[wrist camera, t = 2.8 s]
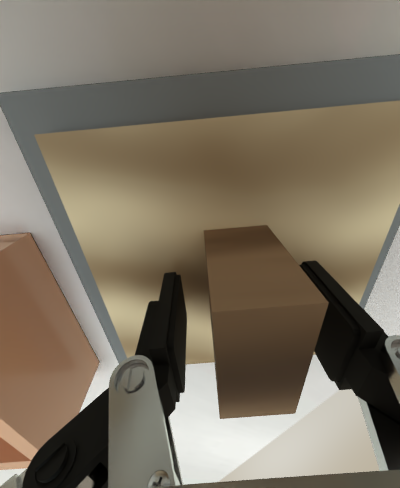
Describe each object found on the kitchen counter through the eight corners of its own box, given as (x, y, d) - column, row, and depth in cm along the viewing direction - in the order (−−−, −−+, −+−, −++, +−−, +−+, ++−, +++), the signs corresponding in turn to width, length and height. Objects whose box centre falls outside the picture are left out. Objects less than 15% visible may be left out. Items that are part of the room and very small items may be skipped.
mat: (7, 95, 8) (-6, 93, 8) (456, 52, 8) (475, 46, 8) (123, 360, 17) (120, 367, 16) (341, 343, 17) (345, 350, 16)
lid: (50, 134, 8) (-186, 137, 3) (416, 100, 8) (810, 44, 3) (135, 355, 16) (105, 467, 10) (331, 340, 15) (402, 447, 10)
